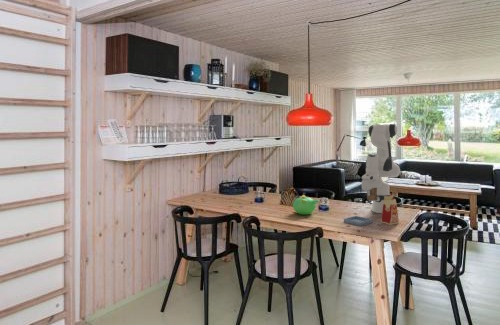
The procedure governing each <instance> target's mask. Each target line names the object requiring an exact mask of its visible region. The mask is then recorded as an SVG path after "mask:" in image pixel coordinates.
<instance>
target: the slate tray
mask: <svg viewBox="0 0 500 325" xmlns="http://www.w3.org/2000/svg"><path fill="white" fill-rule="evenodd" d="M343 223H347V224H350V225H355V226H358V225H359V226H358V227H363V226H366V225H369V224H373V218H367V217H364V216H359V215H354V216H353V215H352V216H350V217H345V218H343Z"/></svg>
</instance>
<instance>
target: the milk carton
mask: <svg viewBox="0 0 500 325" xmlns="http://www.w3.org/2000/svg"><path fill="white" fill-rule="evenodd" d="M384 197H385V198H384V203H383V210H382V213H381V223H382V224H386V225H389V226H392V225H396V224H397V225H398V224H400V221H399V210H398V211H397V209H398V205H397V200H396V198H395V197H394V195H393V194H392V196H384Z"/></svg>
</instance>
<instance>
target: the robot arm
mask: <svg viewBox="0 0 500 325" xmlns="http://www.w3.org/2000/svg"><path fill="white" fill-rule="evenodd" d="M397 132H398V127H397V124H396V123H393V122H389V123H386V122H384V123H376V124H372V125H370V126H369V127H368V133H367V134H368V135H369V137H370V142H371V144H372V145H373V147H376V153H368V154H367V156H366V160H365V173H364V174H363V175H362V176H361V190H363V191H366V194H367V193H368V196H370V195H371V193H370V190H371V189H372V188H377V200H375V201H372V205H371V208H370V210H371V211H372V212H373V213H377V214H382V210H383V203H384V198H385V197H384V196H393V194H390V189H391V188H390V184H389V182H387V181H385V180H383V179H382V178H388V179H389V178H398V177H399V175H400V174H401V169H400V168H401V167H400V166H399V165H398V164H396V163H395V162H394V160H393V158H392V139H393V138H394V137H395V136H396V135H397ZM397 211H398V212H399V209H398V208H397Z"/></svg>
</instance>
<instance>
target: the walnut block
mask: <svg viewBox="0 0 500 325" xmlns="http://www.w3.org/2000/svg"><path fill="white" fill-rule="evenodd" d="M370 193H371V195H370V196H368V193H367V192H366V201H372V202H373V201H375V200H377V188H372V189H371V190H370Z"/></svg>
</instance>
